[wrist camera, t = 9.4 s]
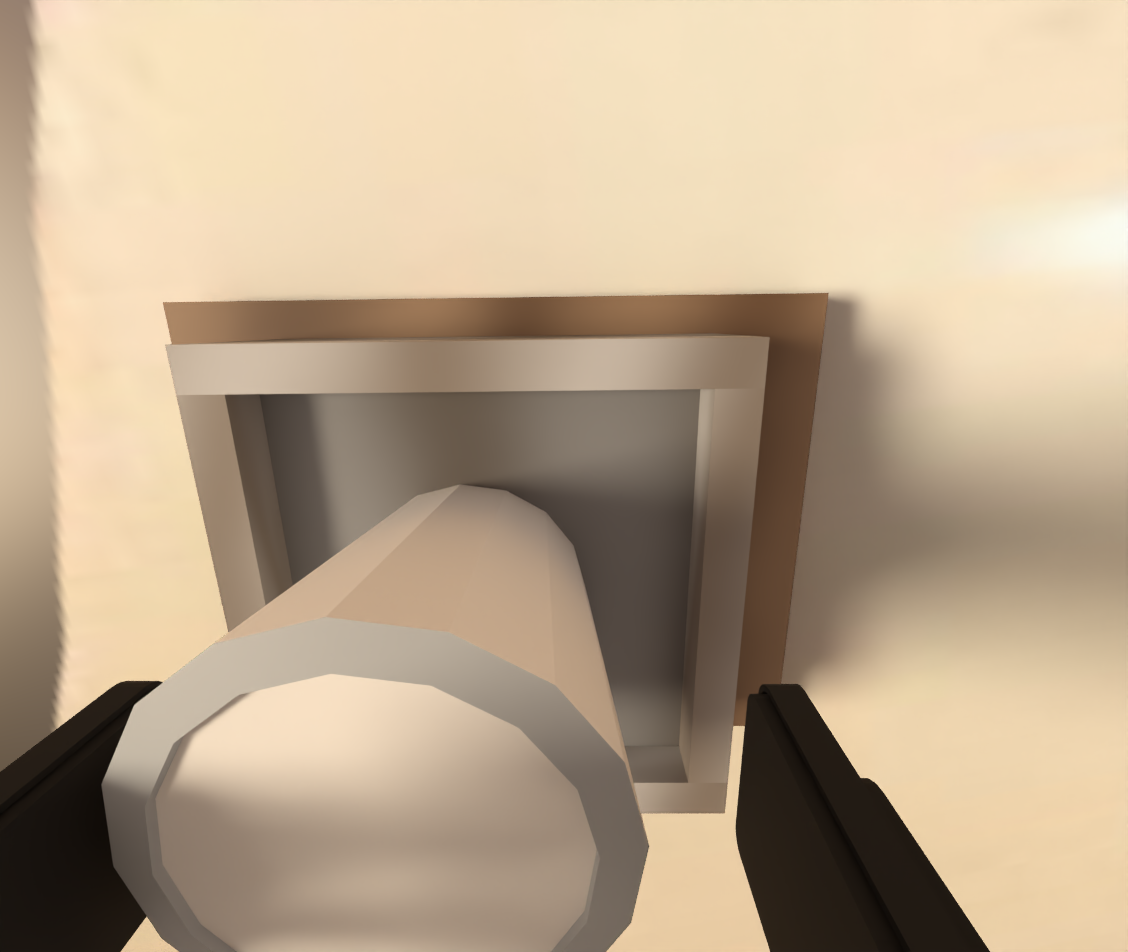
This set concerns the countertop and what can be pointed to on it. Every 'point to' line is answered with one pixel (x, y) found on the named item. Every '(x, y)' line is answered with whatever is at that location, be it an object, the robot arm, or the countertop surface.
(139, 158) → the countertop surface
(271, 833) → the white cup
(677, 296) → the stand
